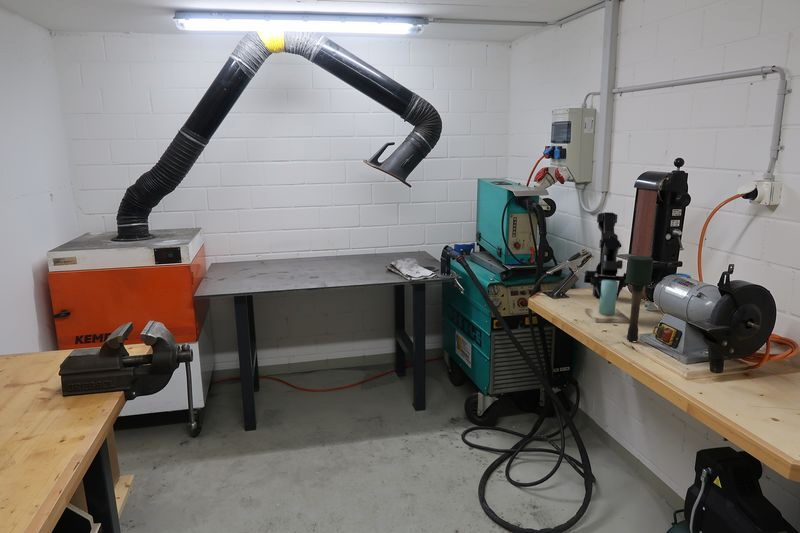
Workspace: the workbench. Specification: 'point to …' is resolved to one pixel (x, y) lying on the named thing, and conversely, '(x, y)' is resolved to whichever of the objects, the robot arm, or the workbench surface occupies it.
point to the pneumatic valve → (650, 305)
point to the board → (606, 316)
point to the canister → (608, 297)
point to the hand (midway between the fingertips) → (608, 296)
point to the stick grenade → (637, 288)
